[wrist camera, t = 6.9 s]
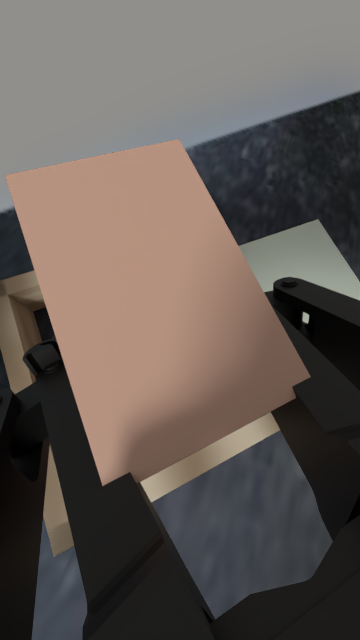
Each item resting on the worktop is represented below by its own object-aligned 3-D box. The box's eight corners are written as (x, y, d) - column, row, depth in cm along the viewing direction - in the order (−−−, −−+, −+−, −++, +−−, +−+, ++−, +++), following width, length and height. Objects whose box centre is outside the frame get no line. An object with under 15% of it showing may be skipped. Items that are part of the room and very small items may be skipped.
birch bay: (197, 244, 23) (205, 219, 19) (281, 409, 19) (308, 413, 16) (13, 303, 19) (-16, 285, 16) (74, 520, 15) (53, 557, 12)
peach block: (161, 301, 20) (179, 139, 7) (199, 388, 19) (316, 386, 5) (105, 322, 19) (4, 175, 6) (140, 416, 18) (107, 499, 4)
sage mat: (315, 221, 25) (318, 219, 25) (387, 330, 22) (391, 329, 22) (227, 251, 23) (228, 249, 22) (295, 377, 20) (297, 377, 20)
